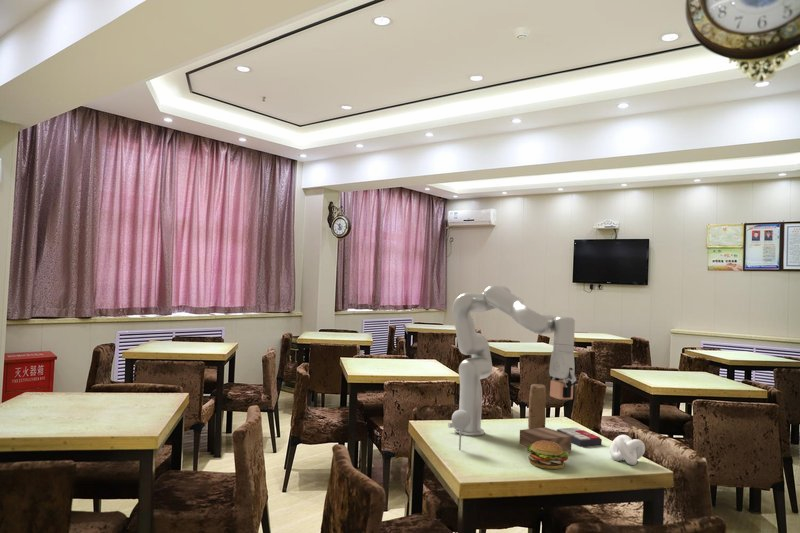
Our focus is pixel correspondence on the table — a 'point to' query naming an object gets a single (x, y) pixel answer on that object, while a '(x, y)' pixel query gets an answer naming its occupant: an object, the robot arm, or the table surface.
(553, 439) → the walnut block
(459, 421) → the lollipop
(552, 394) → the terracotta cube
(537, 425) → the brown rock
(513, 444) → the table surface
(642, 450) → the white knot
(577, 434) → the calculator
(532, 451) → the food
